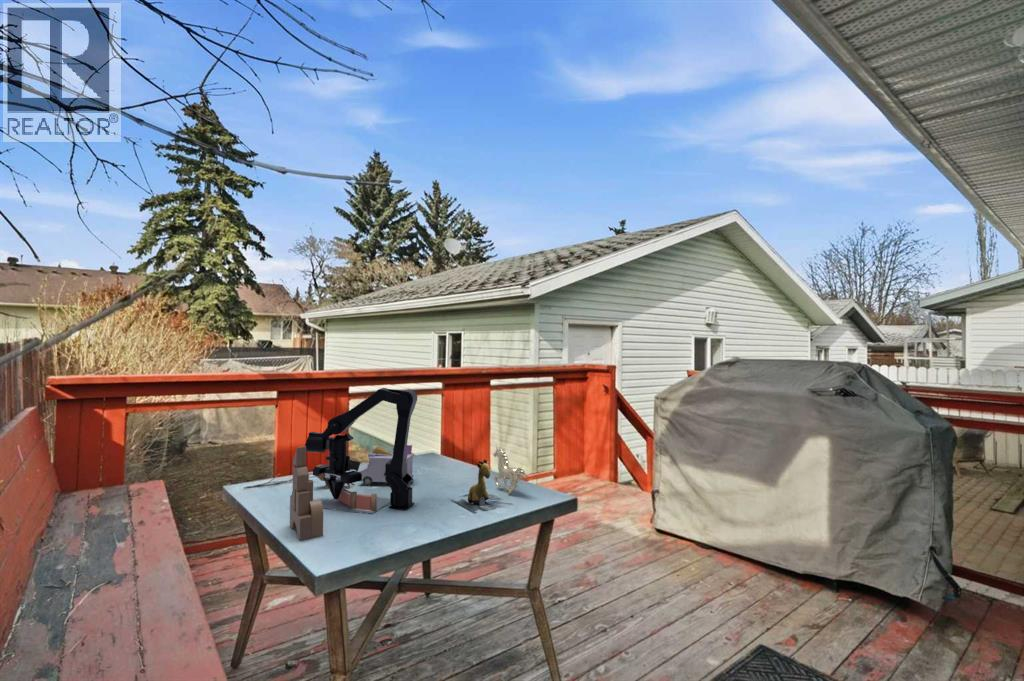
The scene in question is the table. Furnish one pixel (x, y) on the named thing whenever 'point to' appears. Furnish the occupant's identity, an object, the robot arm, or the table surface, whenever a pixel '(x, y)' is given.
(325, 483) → the lion figurine
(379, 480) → the toy vehicle
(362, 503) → the fixed fence
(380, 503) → the board
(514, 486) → the unicorn
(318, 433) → the robot arm
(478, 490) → the stuffed giraffe
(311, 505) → the wooden toy
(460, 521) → the table surface
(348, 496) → the gate panel
